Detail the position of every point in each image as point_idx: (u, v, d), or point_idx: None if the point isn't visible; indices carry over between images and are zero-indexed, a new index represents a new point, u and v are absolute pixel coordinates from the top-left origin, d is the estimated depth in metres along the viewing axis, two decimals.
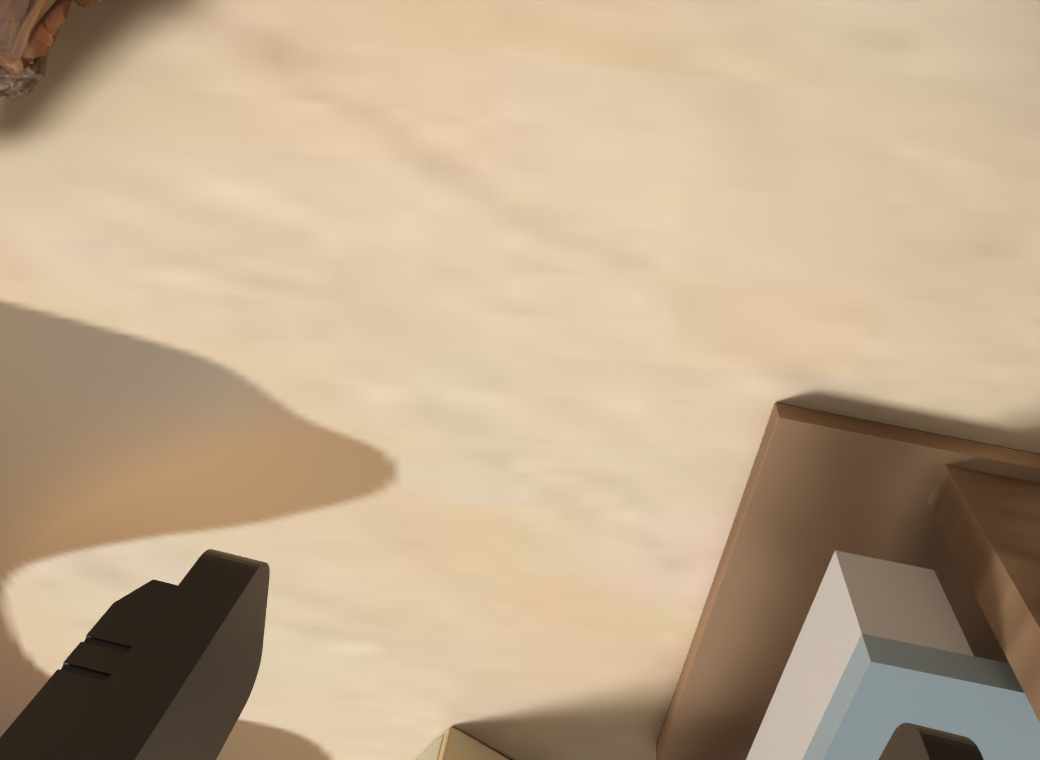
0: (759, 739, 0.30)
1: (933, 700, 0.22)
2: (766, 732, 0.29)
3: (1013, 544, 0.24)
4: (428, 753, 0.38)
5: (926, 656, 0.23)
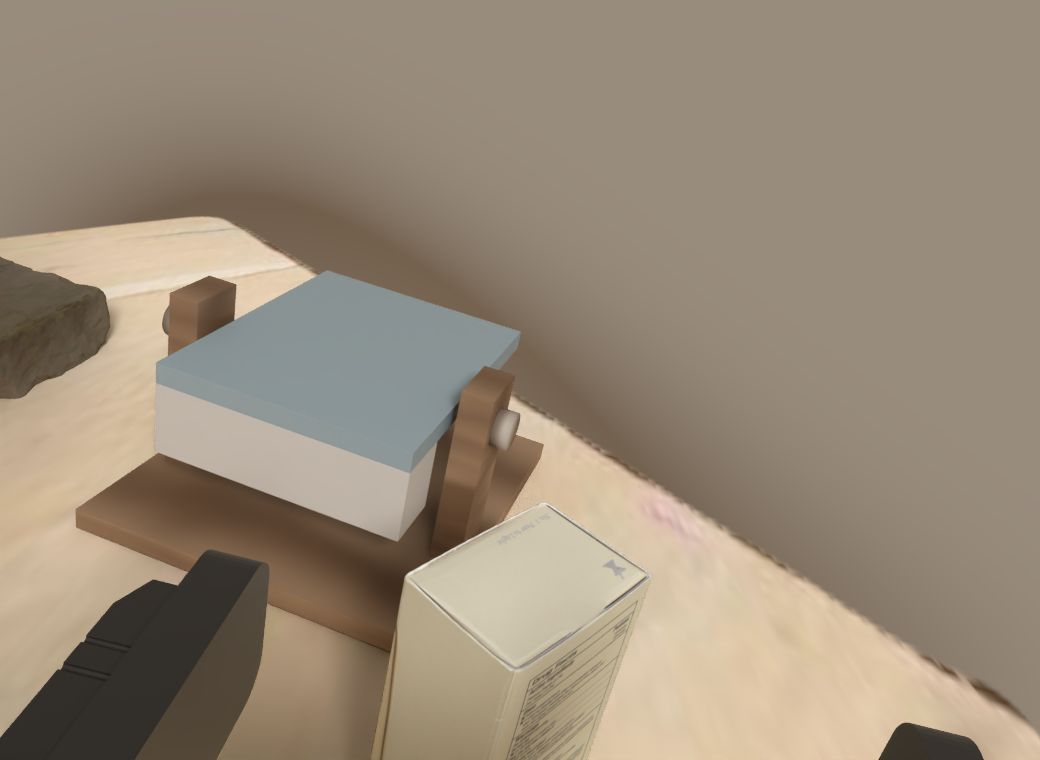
0: (316, 504, 0.37)
1: (202, 352, 0.38)
2: (302, 493, 0.37)
3: None
4: None
5: None
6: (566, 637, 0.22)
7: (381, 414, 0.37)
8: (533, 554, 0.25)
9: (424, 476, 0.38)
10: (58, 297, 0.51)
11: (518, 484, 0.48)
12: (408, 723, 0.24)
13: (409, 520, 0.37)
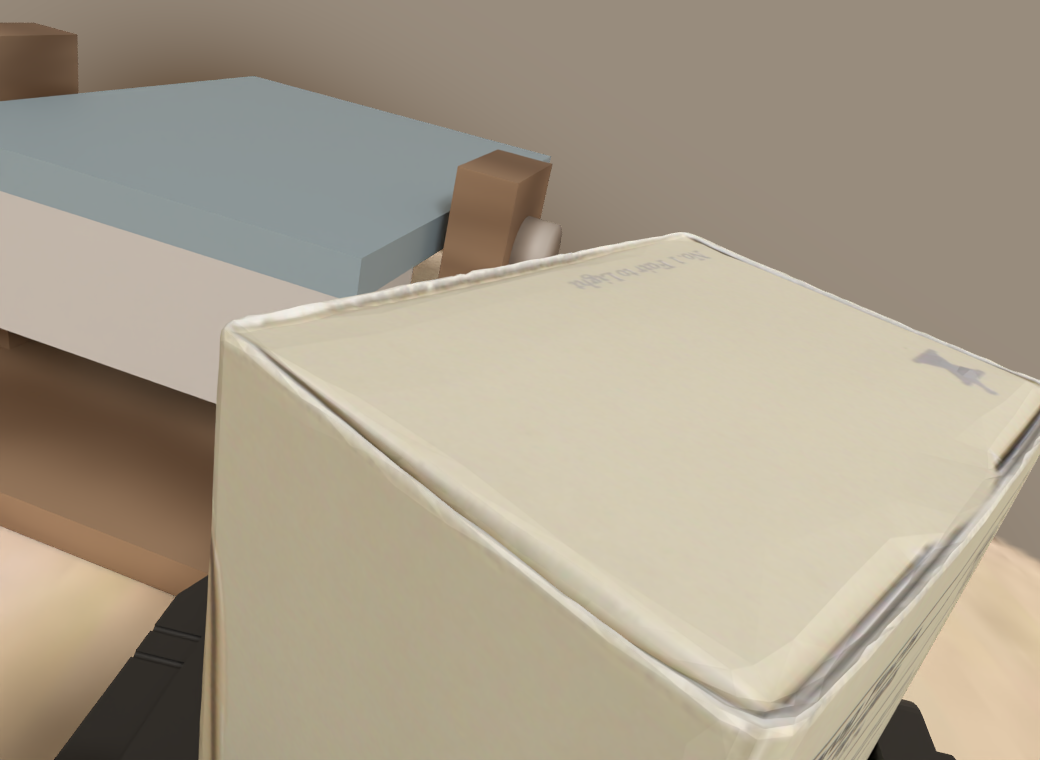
0: (186, 379, 0.20)
1: None
2: (160, 359, 0.20)
3: None
4: None
5: None
6: (924, 562, 0.05)
7: (307, 208, 0.20)
8: (692, 318, 0.07)
9: None
10: None
11: None
12: None
13: None
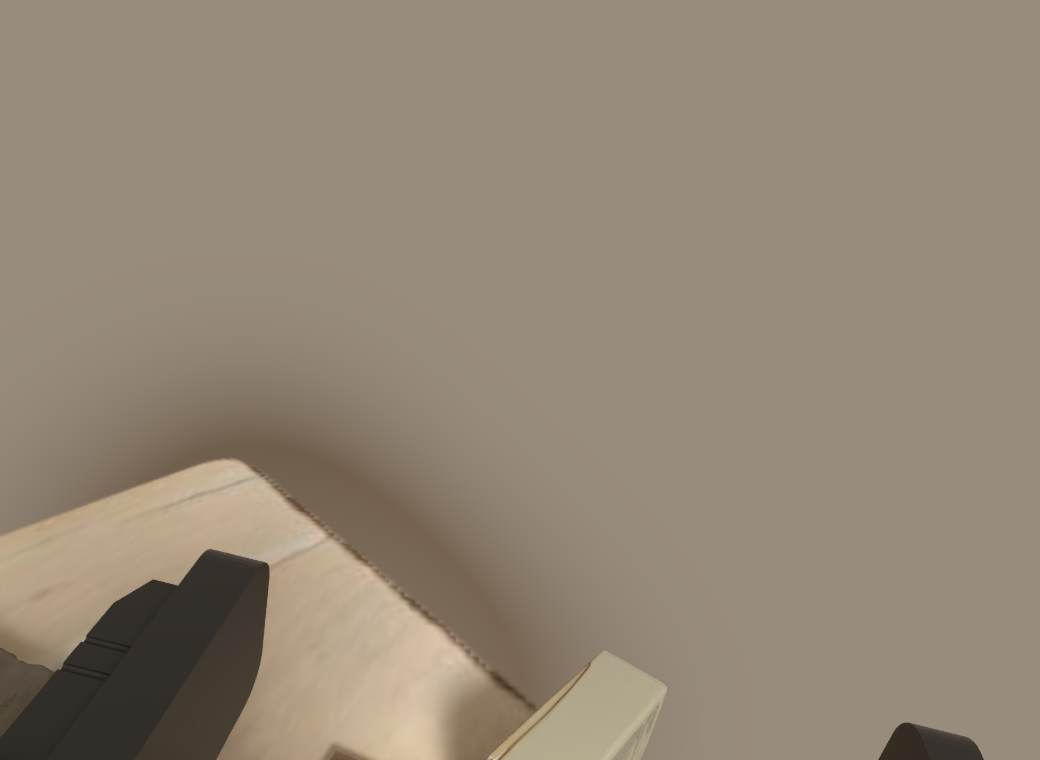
0: None
1: None
2: None
3: None
4: None
5: None
6: (655, 716, 0.49)
7: None
8: None
9: None
10: None
11: None
12: (586, 695, 0.45)
13: None
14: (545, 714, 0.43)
